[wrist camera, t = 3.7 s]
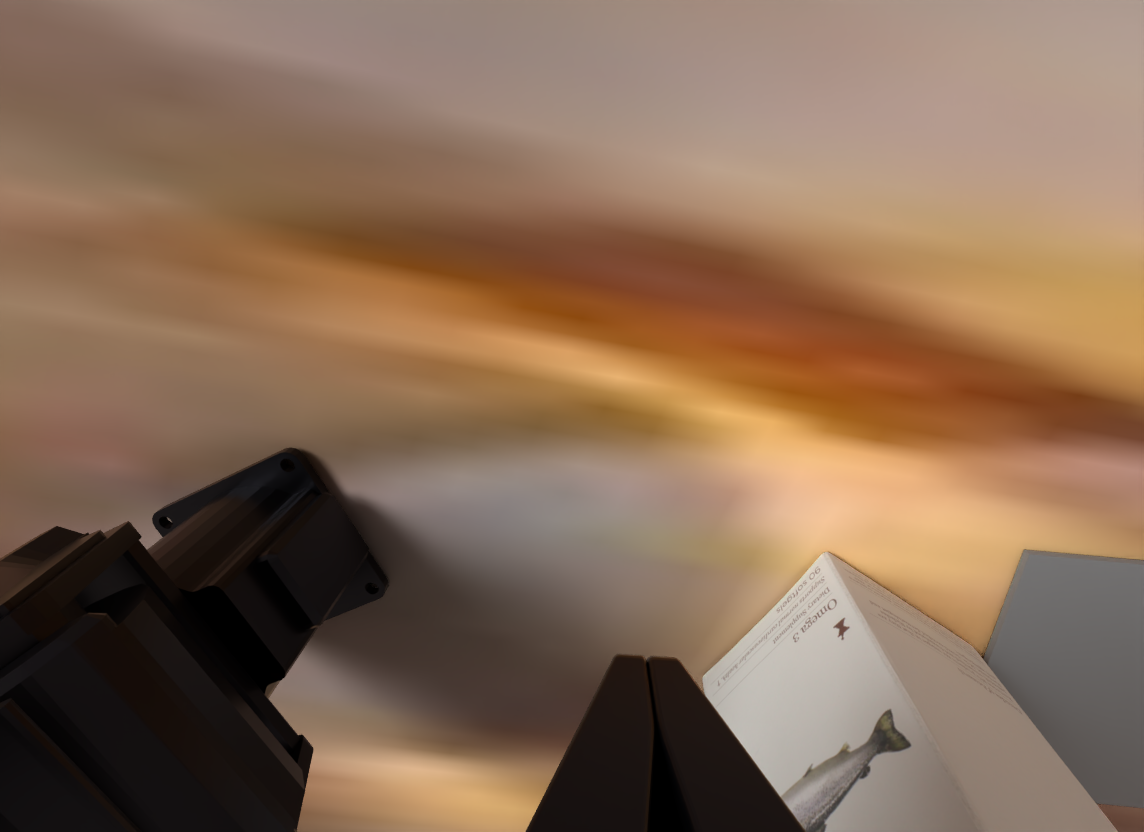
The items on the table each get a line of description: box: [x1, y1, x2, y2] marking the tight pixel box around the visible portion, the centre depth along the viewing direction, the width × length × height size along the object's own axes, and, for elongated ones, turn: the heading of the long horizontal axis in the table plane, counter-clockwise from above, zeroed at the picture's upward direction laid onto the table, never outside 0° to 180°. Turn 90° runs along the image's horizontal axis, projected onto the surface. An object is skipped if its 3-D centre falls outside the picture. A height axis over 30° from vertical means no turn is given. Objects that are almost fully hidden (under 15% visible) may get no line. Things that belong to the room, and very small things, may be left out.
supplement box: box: [702, 552, 1118, 832], centre depth 18 cm, size 7×7×13 cm
